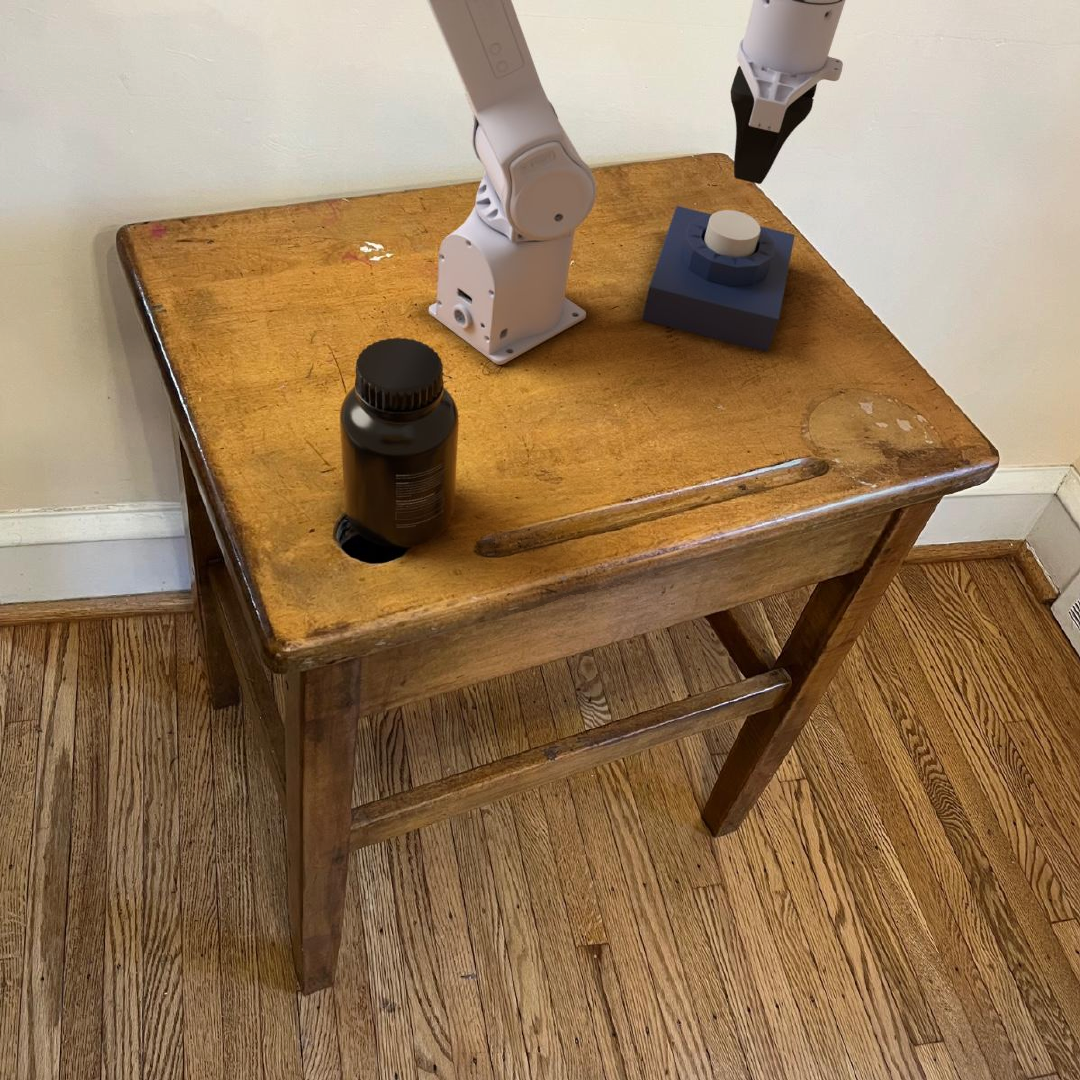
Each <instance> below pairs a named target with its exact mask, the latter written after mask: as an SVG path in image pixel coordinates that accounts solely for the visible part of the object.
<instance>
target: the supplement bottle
mask: <svg viewBox="0 0 1080 1080" xmlns="http://www.w3.org/2000/svg"><path fill="white" fill-rule="evenodd" d="M443 377H444V365H443V362H442V358H441V357H440V355H439V353H438V352H437V351H435V350H434V348H432V347H430V345H428V344H426V343H423V342H422V341H420V340H415V339H414V338H406V337H402V338H401V337H394V338H392V337H391V338H390V337H388V338H386V339H380V340H378V341H374V342H372V344H369V345H367V346H366V347H365V348H364V349H362V350H361V352H360V353H359V354H358V355H357V359H356V361H355V378H354V379H355V380H354V386H353V387H351V389H350V390H349V391H348V393H347V394H346V395H345V397H344V399H343V401H342V403H341V405H340V406H341V407H340V411H339V432H340V446H341V449H340V450H341V464H342V466H341V467H342V479H343V480H342V481H343V498H344V509H345V514H346V518H347V520H348V522H349V524H350V525H351V527H352V528H353V530H355V532H356V533H357V534H359V536H361V537H362V538H364V539H365V540H366V541H369V542H371V543H373V544H375V545H378V546H381V547H383V548H390V549H409V548H414V547H419V546H422V545H424V544H427V543H429V542H431V541H433V540H435V539H436V538H438V537H439V536H440V535H441V534H442V533H443V532H444V531H445V530H446V529H447V527H448V525H449V524H450V522H451V520H452V518H453V514H454V509H455V498H456V497H455V496H456V481H457V479H456V478H457V463H458V462H457V459H458V442H459V440H458V439H459V424H460V423H459V409H458V405H457V404H456V402H455V400H454V399H455V398H454V397H453V396H452V394H451V393H450V391H448V390H447V388H446V387H445V386H444V385H445V384H444V378H443Z"/></svg>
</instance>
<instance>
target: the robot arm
mask: <svg viewBox="0 0 1080 1080" xmlns="http://www.w3.org/2000/svg"><path fill="white" fill-rule="evenodd" d="M426 2H427V4H428V6H429V9H430V11H431V13H432V16H433V18H434V20H435V23H436V25H437V28H438V30H439V32H440V35H441V37H442V40H443V42H444V44H445V46H446V49H447V51H448V53H449V56H450V58H451V61H452V63H453V65H454V68H455V70H456V73H457V75H458V77H459V80H460V82H461V84H462V86H463V89H464V91H465V93H464V94H465V98H466V100H467V103H468V105H469V108H470V111H471V117H472V123H471V132H470V133H471V134H470V137H471V138H470V139H471V140H470V141H471V146H472V149H473V152H474V154H475V156H476V158H477V159H478V160H479V162H480V163H481V164H482V167H483V177H482V179H481V181H480V184H479V186H478V188H477V189H478V190H477V193H476V195H475V205H474V207H473V208H472V210H471V213H470V214H469V216H468V217H467V218H466V220H465V221H464V222H463V223H462V224H461V225H460V226H459V227H458V228H457V229H455V230H454V231H452V232H451V233H450V234H448V235H447V236H446V237H445V238H444V239H443V240H442V242H441V244H440V246H439V249H438V263H437V264H438V265H437V285H436V286H437V287H436V302H435V303H433V304H431V305H429V307H428V314H429V315H430V316H432V318H434V319H436V320H437V321H439V322H440V323H441V324H442V325H444V326H445V327H446V328H448V329H449V330H450V331H452V332H453V333H454V334H455V335H456V336H458V337H459V338H461V339H462V340H463V341H465V342H466V343H467V344H469V345H470V346H472V347H473V348H474V349H475V350H476V351H478V352H479V353H480V354H482V355H483V356H484V357H486V358H487V359H489V360H490V361H491V362H493V363H494V364H495V365H500V366H501V365H504V364H506V363H509V362H510V361H511V360H514V359H515V358H518V357H519V356H521V355H522V354H524V353H526V352H528V351H531V349H533V348H535V347H537V346H538V345H540V344H542V343H544V342H546V341H547V340H550V339H551V338H553V337H555V336H556V335H558V334H560V333H562V332H564V331H565V330H567V329H570V328H571V327H572V326H575V325H576V324H578V323H580V322H582V321H583V320H585V319H586V316H587V311H585V309H583V308H581V307H580V306H579V305H578V304H576V303H574V302H573V301H571V300H570V299H568V298H567V297H566V293H567V292H566V291H567V284H568V277H569V273H570V265H571V259H572V252H573V246H574V242H575V241H574V240H575V233H576V229H577V228H579V226H581V225H582V224H583V223H584V222H585V220H586V219H587V217H588V216H589V215H590V213H591V212H592V210H593V207H594V205H595V202H596V198H597V182H596V178H595V175H594V172H593V171H592V170H591V167H590V166H589V165H588V164H587V163H586V162H585V161H584V160H583V159H582V157H581V155H580V154H579V152H578V150H577V149H576V147H575V146H574V144H573V143H572V141H571V139H570V137H569V136H568V134H567V132H566V130H565V128H564V127H563V125H562V124H561V122H560V121H559V116H558V114H557V112H556V110H555V107H554V106H553V104H552V102H551V101H550V100H549V98H548V96H547V94H546V92H545V90H544V87H543V85H542V82H541V80H540V77H539V74H538V71H537V68H536V66H535V63H534V60H533V58H532V57H533V56H532V54H531V51H530V49H529V46H528V44H527V41H526V37H525V34H524V32H523V29H522V26H521V23H520V21H519V18H518V15H517V12H516V9H515V7H514V4H513V1H512V0H426ZM845 3H846V0H753V1H752V4H751V8H750V13H749V17H748V19H747V24H746V28H745V32H744V36H743V38H742V39H741V40H740V42H739V44H738V47H737V52H736V59H737V62H738V64H739V66H738V67H737V68H736V72H735V75H734V78H733V81H732V84H731V88H730V102H731V105H732V108H733V112H734V113H733V114H734V117H735V118H734V119H735V146H734V147H735V148H734V157H733V177H734V178H735V179H736V180H741V181H745V182H749V183H752V184H756V185H761V184H762V183H763V181H765V179H766V177H767V176H768V174H769V172H770V171H771V169H772V166H773V165H774V163H775V161H776V159H777V157H778V156H779V153H780V151H781V150H782V147H783V146H784V144H785V143H786V140H787V139H788V138H789V137H790V136H791V134H792V133H793V132H794V131H795V129H796V128H798V126H799V125H801V123H803V122H804V121H805V120H806V118H807V117H808V116H809V114H810V113H811V111H812V110H813V109H812V108H813V104H814V100H815V99H814V97H815V95H816V91H817V87H818V83H819V82H821V81H823V80H825V81H831V82H837V81H839V80H840V77H841V74H842V71H843V67H844V66H843V65H844V63H843V61H842V60H841V59H839V58H836V57H831V56H829V54H830V52H831V51H830V50H831V47H832V44H833V42H834V38H835V35H836V32H837V29H838V26H839V22H840V19H841V17H842V12H843V11H844V8H845V7H844V6H845Z"/></svg>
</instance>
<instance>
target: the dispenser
mask: <svg viewBox="0 0 1080 1080" xmlns="http://www.w3.org/2000/svg"><path fill="white" fill-rule="evenodd" d="M712 215H713V214H711V213H708V212H703V211H700V210H696V209H692V208H688V207H683V206H679V205H676V207H675V208H674V212H673V214H672V218H671V219H670V224H669V227H668V230H667V232H666V236H665V238H664V242H663V244H662V248H661V250H660V253H659V256H658V259H657V262H656V266H655V269H654V270H653V274H652V278H651V280H650V283H649V286H648V290H647V295H646V299H645V304H644V307H643V312H642V317H641V320H642V321H643V322H647V323H651V324H655V325H660V326H663V327H667V328H671V329H675V330H679V331H683V332H687V333H691V334H695V335H699V336H702V337H706V338H711V339H714V340H719V341H722V342H726V343H730V344H734V345H739V346H741V347H746V348H750V349H754V350H757V351H762V352H766V353H768V352H769V349H770V346H771V344H772V341H773V338H774V334H775V332H776V329H777V326H778V324H779V320H780V316H781V310H782V304H783V300H784V294H785V289H786V284H787V278H788V273H789V268H790V262H791V258H792V252H793V247H794V242H795V236H796V235H795V234H794V233H789V232H786V231H781V230H778V229H773V228H769V227H765V226H761V225H760V229H761V231H760V235H759V238H758V241H757V244H756V248H755V251H754V253H753V254H752V255H751V256H749V257H739V258H733V257H729V256H725V255H721V254H718V253H716V252H715V251H713V250H711V249H710V248H708V247H707V246H706V245H705V242H704V238H705V234H706V230H707V226H708V223H709V219H710V217H711V216H712Z"/></svg>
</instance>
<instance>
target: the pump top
mask: <svg viewBox="0 0 1080 1080" xmlns="http://www.w3.org/2000/svg"><path fill="white" fill-rule="evenodd" d="M760 226H761V225H760V223H759V221H757V220H756V219H755V218H754V217H753V216H751V215H749V214H747V213H745V212H742V211H737V210H733V209H732V210H731V209H730V210H729V209H724V210H719V211H716V212H714V213H713V214H712V216H711V217H710V219H709V223H708V226H707V230H706V234H705V238H704V242H705V245H706V246H707V247H708V248H710V249H711V250H713V251H715V252H716V253H718V254H721V255H725V256H729V257H733V258H739V257H749V256H751V255H752V254H753V253H754V251H755V248H756V244H757V241H758V238H759V235H760V231H761V229H760Z"/></svg>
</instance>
